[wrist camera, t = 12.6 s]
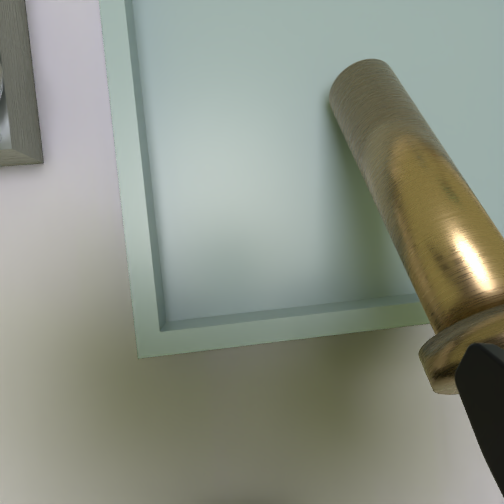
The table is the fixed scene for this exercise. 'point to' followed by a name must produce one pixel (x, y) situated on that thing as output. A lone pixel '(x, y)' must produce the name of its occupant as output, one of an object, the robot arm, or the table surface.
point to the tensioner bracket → (17, 90)
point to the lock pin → (425, 216)
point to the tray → (281, 159)
